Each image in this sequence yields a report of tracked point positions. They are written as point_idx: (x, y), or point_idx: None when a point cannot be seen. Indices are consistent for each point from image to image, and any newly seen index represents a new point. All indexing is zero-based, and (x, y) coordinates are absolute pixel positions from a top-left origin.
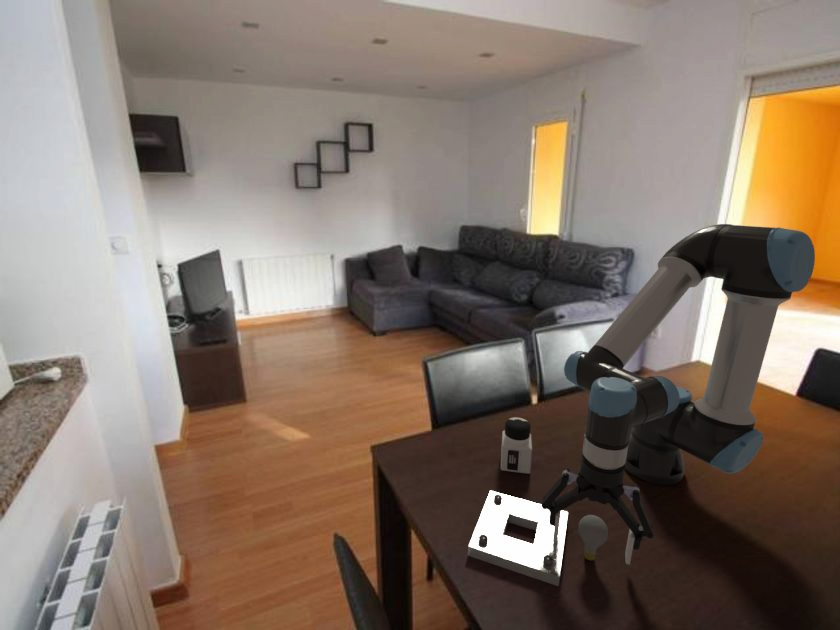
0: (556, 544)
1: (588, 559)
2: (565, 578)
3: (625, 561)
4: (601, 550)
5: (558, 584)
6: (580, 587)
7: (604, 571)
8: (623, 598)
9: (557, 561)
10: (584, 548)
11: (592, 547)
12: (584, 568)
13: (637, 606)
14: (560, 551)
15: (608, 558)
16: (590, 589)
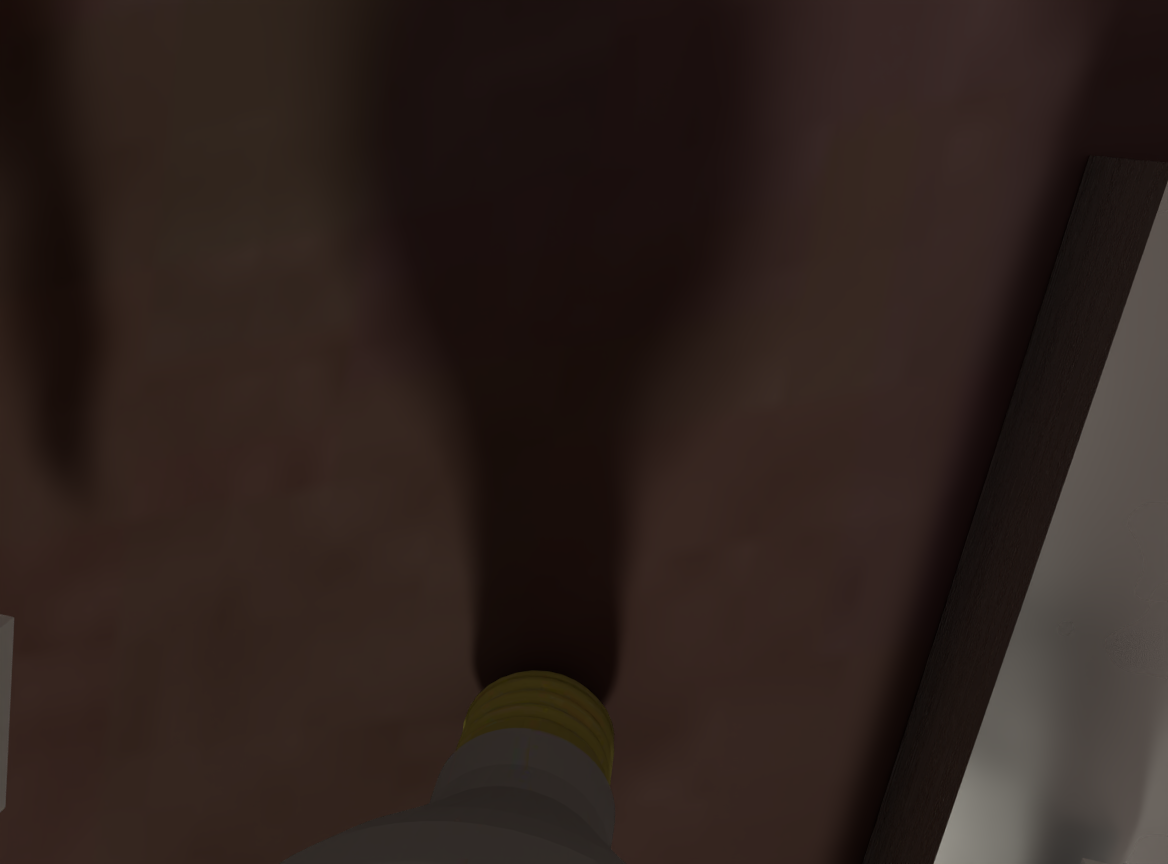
0: (1075, 829)
1: (561, 677)
2: (947, 326)
3: (11, 655)
4: None
5: (1109, 158)
6: (747, 210)
7: (367, 542)
8: (170, 150)
9: (1139, 491)
10: (613, 812)
11: (497, 796)
12: (633, 545)
13: (2, 58)
14: (1033, 704)
15: (290, 749)
16: (605, 205)
